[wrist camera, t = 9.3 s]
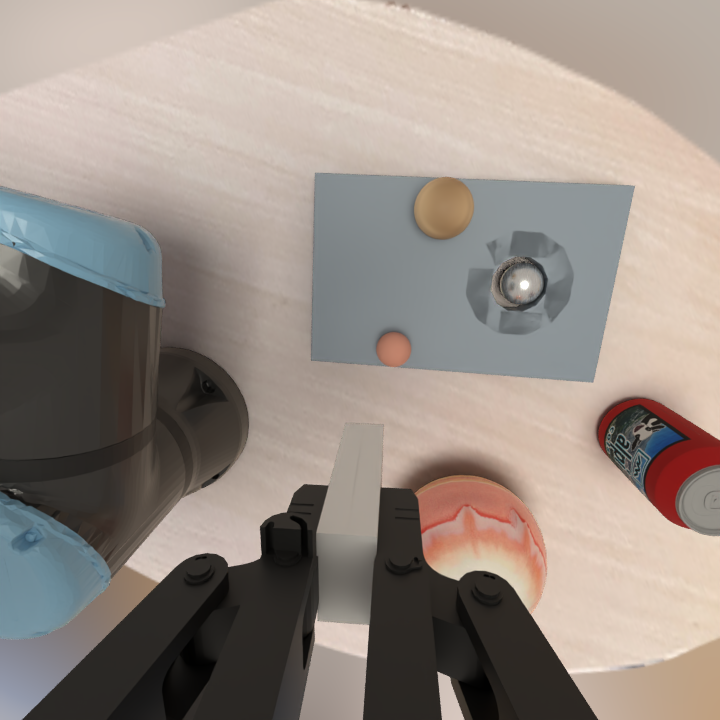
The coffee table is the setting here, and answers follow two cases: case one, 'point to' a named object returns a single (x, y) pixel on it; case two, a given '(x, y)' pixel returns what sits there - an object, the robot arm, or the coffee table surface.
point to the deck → (465, 275)
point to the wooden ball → (444, 208)
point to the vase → (482, 533)
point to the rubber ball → (393, 349)
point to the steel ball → (521, 283)
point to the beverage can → (666, 461)
